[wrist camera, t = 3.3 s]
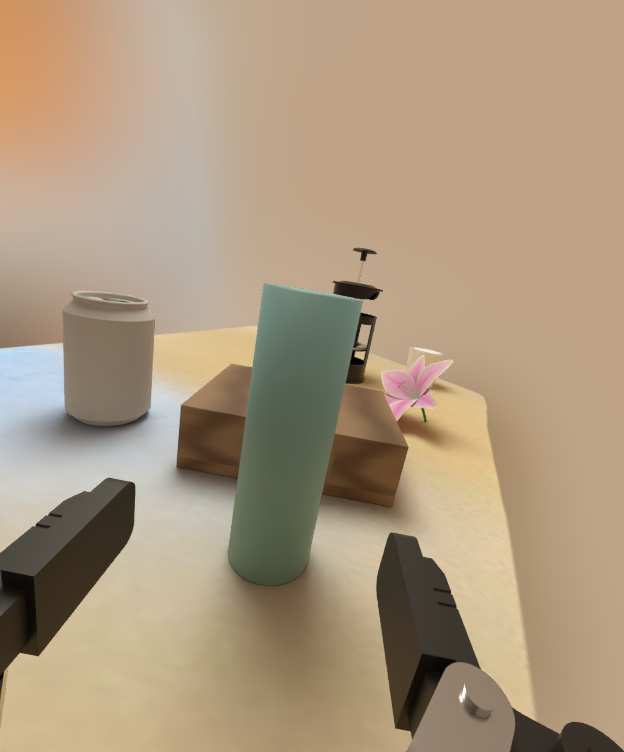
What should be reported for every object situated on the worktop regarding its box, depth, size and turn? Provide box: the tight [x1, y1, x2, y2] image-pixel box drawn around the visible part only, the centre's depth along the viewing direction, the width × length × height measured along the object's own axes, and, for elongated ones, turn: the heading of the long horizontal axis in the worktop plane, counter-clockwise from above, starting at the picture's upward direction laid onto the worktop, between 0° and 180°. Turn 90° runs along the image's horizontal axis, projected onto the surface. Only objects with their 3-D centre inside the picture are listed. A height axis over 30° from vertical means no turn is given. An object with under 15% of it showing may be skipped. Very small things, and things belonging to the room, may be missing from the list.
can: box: [63, 291, 155, 426], centre depth 34 cm, size 8×8×12 cm
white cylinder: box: [406, 347, 445, 388], centre depth 70 cm, size 7×7×7 cm
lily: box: [381, 355, 453, 422], centre depth 47 cm, size 12×12×10 cm
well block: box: [176, 364, 408, 507], centre depth 34 cm, size 18×14×6 cm
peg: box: [228, 283, 363, 586], centre depth 19 cm, size 5×5×16 cm
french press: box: [333, 248, 383, 383], centre depth 63 cm, size 12×9×23 cm
